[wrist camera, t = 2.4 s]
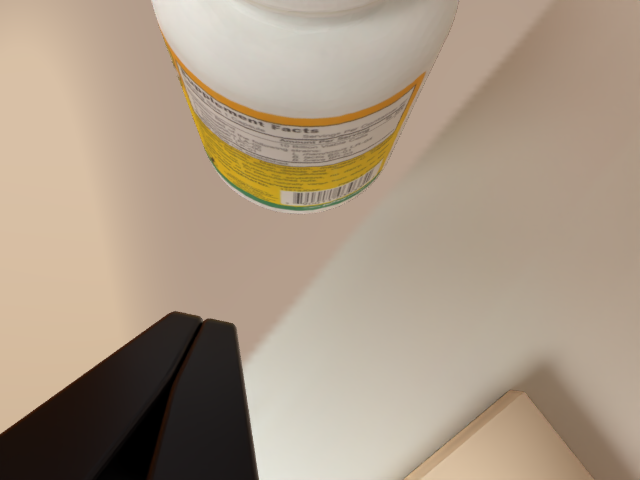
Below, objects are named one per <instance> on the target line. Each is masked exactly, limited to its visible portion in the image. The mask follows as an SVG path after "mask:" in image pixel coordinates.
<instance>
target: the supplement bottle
mask: <svg viewBox="0 0 640 480" xmlns="http://www.w3.org/2000/svg"><path fill="white" fill-rule="evenodd" d="M151 2H152V4H153V8H154V11H155V15H156V18H157V21H158V25H159V28H160V30H161V33H162V35H163V38H164V41H165V44H166V46H167V49H168V52H169V54H170V57H171V60H172V63H173V65H174V67H175V70H176V72H177V75H178V78H179V80H180V83H181V86H182V89H183V92H184V94H185V97H186V100H187V102H188V105H189V108H190V111H191V113H192V116H193V119H194V122H195V124H196V127H197V129H198V132H199V135H200V137H201V140H202V143H203V145H204V148H205V151H206V152H207V155H208V157H209V159H210V161H211V163H212V165H213V167H214V169H215V170H216V172H217V173H218V174H219V176H220V177H221V179H222V180H223V181H224V182H225V183H226V184H227V185H228V186H229V187H230V188H231V189H233V190H234V191H235V192H237V193H238V194H239V195H240V196H242V197H244V198H245V199H247V200H249V201H250V202H253V203H254V204H256V205H258V206H260V207H263V208H266V209H269V210H272V211H276V212H282V213H290V214H310V213H318V212H322V211H327V210H330V209H333V208H336V207H339V206H341V205H343V204H345V203H347V202H349V201H351V200H352V199H354V198H356V197H357V196H358V195H360V194H361V193H362V192H364V191H365V190H366V189H367V188H368V187H369V186H370V185H371V184H372V183H373V182H374V181H375V180H376V179H377V178H378V176H379V175H380V173H381V172H382V170H383V169H384V167H385V166H386V164H387V162H388V160H389V158H390V156H391V154H392V152H393V149H394V147H395V145H396V143H397V141H398V139H399V137H400V135H401V132H402V130H403V128H404V126H405V124H406V122H407V120H408V117H409V115H410V113H411V111H412V109H413V107H414V104H415V102H416V100H417V98H418V96H419V94H420V92H421V90H422V88H423V86H424V84H425V81H426V79H427V77H428V75H429V73H430V71H431V69H432V67H433V65H434V63H435V61H436V59H437V57H438V54H439V52H440V50H441V48H442V46H443V44H444V42H445V40H446V38H447V36H448V34H449V31H450V29H451V27H452V24H453V21H454V18H455V14H456V11H457V7H458V2H459V0H151Z"/></svg>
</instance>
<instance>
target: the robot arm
mask: <svg viewBox="0 0 640 480" xmlns="http://www.w3.org/2000/svg"><path fill="white" fill-rule="evenodd" d="M0 480H259V477H258V470H257V463H256V457H255V450H254V443H253V436H252V430H251V423H250V416H249V409H248V403H247V396H246V389H245V382H244V376H243V369H242V362H241V356H240V349H239V342H238V336H237V329H236V327H235V325H234V324H233V323H229V322H224V321H219V320H215V319H206V320H205V321H203V319H202V318H201V317H200V316H196V315H191V314H186V313H182V312H176V311H174V312H171V313H169V314H167V315H166V316H165V317H163V318H162V319H161V320H159V321H158V322H156V323H155V324H153V325H152V326H151V327H149V328H148V329H146V330H145V331H144V332H142V333H141V334H139V335H138V336H137V337H135V338H134V339H133V340H131V341H130V342H128V343H127V344H125V345H124V346H123V347H121V348H120V349H119V350H117V351H116V352H114V353H113V354H112V355H110V356H109V357H108V358H106V359H104V360H103V361H102V362H100V363H99V364H98V365H96V366H95V367H93V368H92V369H91V370H89V371H88V372H86V373H85V374H84V375H82V376H81V377H79V378H78V379H77V380H75V381H74V382H72V383H71V384H70V385H68V386H67V387H65V388H64V389H63V390H61V391H60V392H58V393H57V394H56V395H54V396H53V397H51V398H50V399H49V400H47V401H46V402H45V403H43V404H42V405H40V406H39V407H37V408H36V409H35V410H33V411H32V412H30V413H29V414H28V415H27V416H25V417H24V418H23V419H21V420H19V421H18V422H17V423H15V424H14V425H12V426H11V427H10V428H8V429H7V430H5V431H4V432H3V433H1V434H0Z"/></svg>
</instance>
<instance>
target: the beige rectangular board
mask: <svg viewBox="0 0 640 480" xmlns="http://www.w3.org/2000/svg"><path fill="white" fill-rule="evenodd" d="M403 480H594V479H593V477H592V476H591V475H590V474H589V472H588V471H587V470H586V469H585V467H584V466H583V465H582V464H581V462H580V461H579V460H578V458H577V457H576V456H575V455H574V453H573V452H572V451H571V450H570V448H569V447H568V446H567V445H566V443H565V442H564V441H563V440H562V438H561V437H560V436H559V435H558V433H557V432H556V431H555V429H554V428H553V427H552V426H551V424H550V423H549V422H548V421H547V419H546V418H545V417H544V416H543V414H542V413H541V412H540V411H539V409H538V408H537V407H536V405H535V404H534V403H533V402H532V400H531V399H530V398H529V397H528V395H527V394H526V393H525V392H523V391H513V390H509V391H508V392H507V393H506V394H505V395H503V396H502V397H501V398H500V399H499V400H497V401H496V402H495V403H494V404H493V405H492V406H490V407H489V408H488V409H487V410H486V411H484V412H483V413H482V414H481V415H480V416H478V417H477V418H476V419H475V420H474V421H472V422H471V423H470V424H469V425H468V426H466V427H465V428H464V429H463V430H462V431H460V432H459V433H458V434H457V435H456V436H455V437H453V438H452V439H451V440H450V441H449V442H447V443H446V444H445V445H444V446H443V447H441V448H440V449H439V450H438V451H437V452H435V453H434V454H433V455H432V456H431V457H429V458H428V459H427V460H426V461H425V462H423V463H422V464H421V465H420V466H419V467H418V468H416V469H415V470H414V471H413V472H412V473H410V474H409V475H408V476H407V477H406V478H404V479H403Z"/></svg>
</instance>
